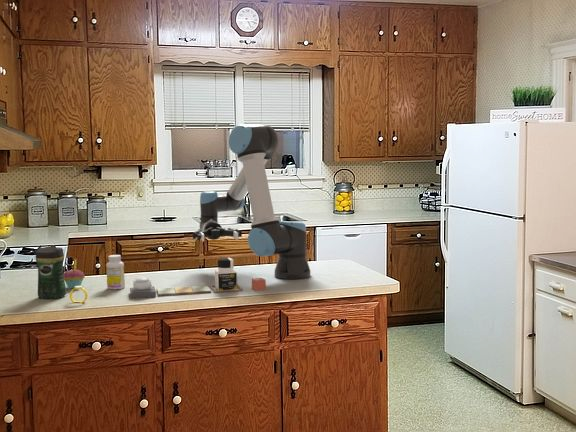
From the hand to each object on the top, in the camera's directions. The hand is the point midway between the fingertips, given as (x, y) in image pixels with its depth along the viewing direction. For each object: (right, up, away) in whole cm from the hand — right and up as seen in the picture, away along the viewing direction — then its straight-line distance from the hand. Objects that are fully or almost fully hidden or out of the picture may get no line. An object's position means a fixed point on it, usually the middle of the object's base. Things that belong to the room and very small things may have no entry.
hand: (220, 237), depth 265 cm
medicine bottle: (+3, -20, -8) cm, 22 cm away
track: (-13, -20, -12) cm, 27 cm away
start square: (+3, -20, -8) cm, 21 cm away
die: (+16, -20, -9) cm, 27 cm away
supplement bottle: (-40, -20, -5) cm, 45 cm away
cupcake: (-57, -20, -4) cm, 61 cm away
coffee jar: (-60, -22, -19) cm, 67 cm away
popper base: (-27, -21, -17) cm, 38 cm away
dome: (-27, -18, -18) cm, 37 cm away
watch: (-48, -23, -28) cm, 60 cm away
